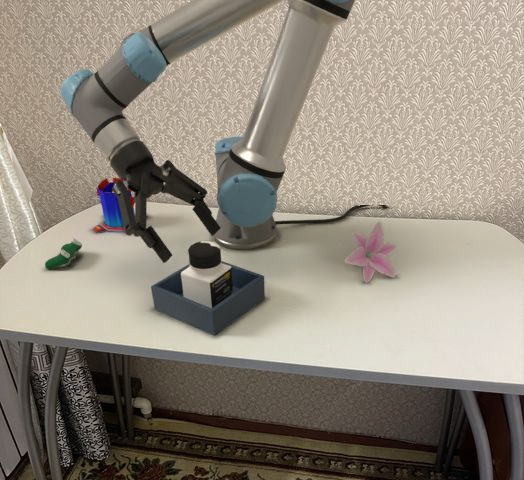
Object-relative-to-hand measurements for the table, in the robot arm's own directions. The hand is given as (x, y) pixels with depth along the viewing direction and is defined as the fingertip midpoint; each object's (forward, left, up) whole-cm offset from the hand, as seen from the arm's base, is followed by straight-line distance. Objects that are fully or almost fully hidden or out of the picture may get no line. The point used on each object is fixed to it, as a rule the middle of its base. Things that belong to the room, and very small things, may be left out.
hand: (193, 245), depth 106 cm
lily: (-35, +12, -12) cm, 39 cm away
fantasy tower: (-1, -44, -12) cm, 46 cm away
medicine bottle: (-1, +3, -11) cm, 12 cm away
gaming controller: (+17, -32, -12) cm, 38 cm away
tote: (-1, +3, -12) cm, 12 cm away
